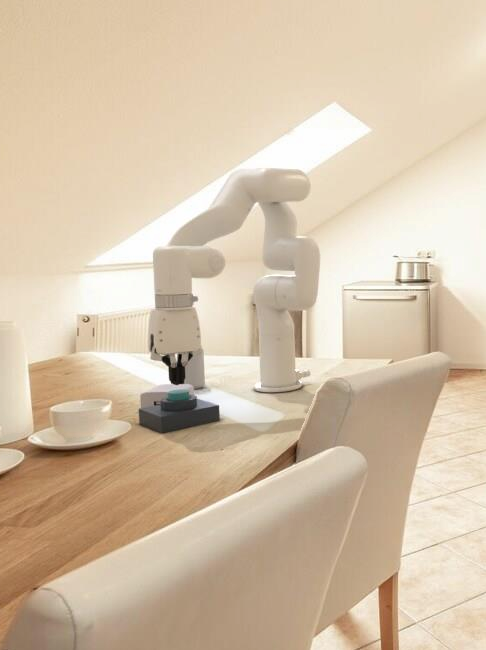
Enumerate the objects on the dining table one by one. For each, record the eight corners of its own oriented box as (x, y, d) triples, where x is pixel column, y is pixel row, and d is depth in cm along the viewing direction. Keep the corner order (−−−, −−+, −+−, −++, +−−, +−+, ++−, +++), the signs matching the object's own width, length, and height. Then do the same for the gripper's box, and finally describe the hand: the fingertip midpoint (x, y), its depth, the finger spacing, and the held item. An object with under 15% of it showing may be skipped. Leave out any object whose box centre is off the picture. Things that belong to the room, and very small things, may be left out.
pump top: (183, 396, 145) (183, 388, 144) (193, 399, 142) (192, 391, 142) (164, 400, 141) (164, 391, 141) (173, 403, 138) (173, 394, 138)
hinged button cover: (203, 396, 166) (180, 411, 152) (167, 397, 166) (140, 411, 151) (202, 378, 166) (179, 391, 151) (166, 379, 165) (139, 392, 150)
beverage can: (209, 387, 178) (208, 345, 177) (188, 391, 172) (186, 348, 171) (196, 384, 181) (194, 343, 180) (175, 388, 176) (173, 346, 175)
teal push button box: (196, 412, 150) (195, 389, 150) (219, 420, 144) (218, 396, 143) (139, 424, 140) (137, 399, 140) (161, 433, 134) (160, 407, 133)
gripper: (198, 299, 147) (201, 376, 149) (131, 303, 136) (135, 387, 137) (214, 301, 143) (217, 380, 144) (146, 305, 131) (150, 391, 133)
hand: (177, 383), depth 141 cm, fingers closed
